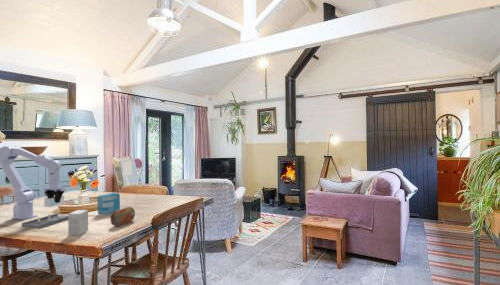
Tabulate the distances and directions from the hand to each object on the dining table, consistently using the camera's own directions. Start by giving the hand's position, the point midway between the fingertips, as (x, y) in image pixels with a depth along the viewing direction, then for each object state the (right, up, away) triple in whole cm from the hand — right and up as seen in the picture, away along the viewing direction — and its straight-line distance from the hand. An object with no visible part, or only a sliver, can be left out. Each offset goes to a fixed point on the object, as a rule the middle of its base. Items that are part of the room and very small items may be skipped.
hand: (54, 202), depth 167 cm
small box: (+35, -8, -32) cm, 48 cm away
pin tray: (+6, -8, -12) cm, 16 cm away
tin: (+50, -8, -17) cm, 54 cm away
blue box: (+30, -8, +6) cm, 32 cm away
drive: (0, -2, 0) cm, 2 cm away
